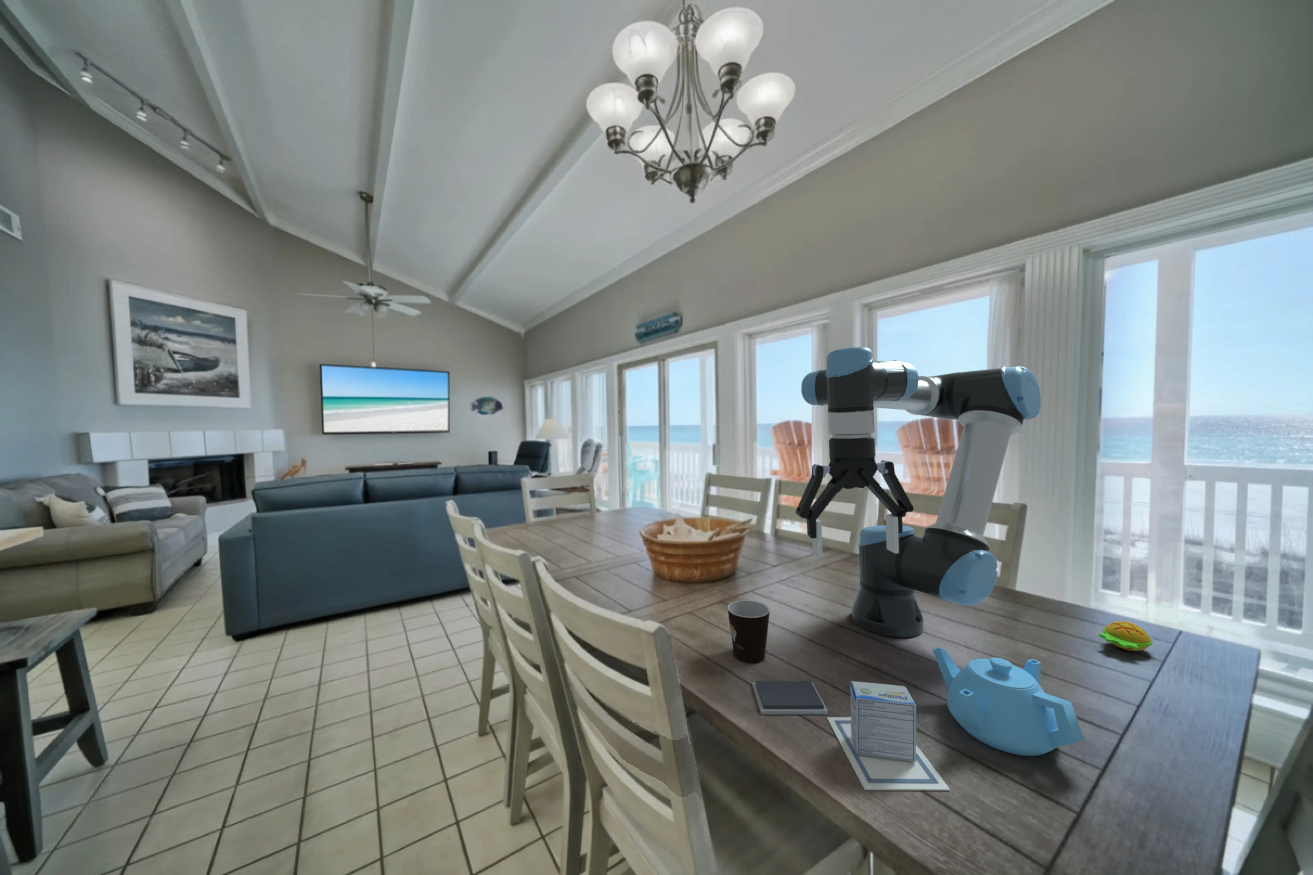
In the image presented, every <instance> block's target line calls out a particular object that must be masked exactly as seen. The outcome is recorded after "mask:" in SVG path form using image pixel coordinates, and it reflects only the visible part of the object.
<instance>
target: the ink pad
mask: <svg viewBox="0 0 1313 875" xmlns="http://www.w3.org/2000/svg"><path fill="white" fill-rule="evenodd" d="M752 688H753V692H754V696H755V698H756V701H757V706H758V708H759V711H760V715H828V714H829V711H828V708H827V706H826V705H825V703H824V701H823V699H822V696H820V694H819V691H818V690H817V688H816V686H815V684H814V682H812V681H811V680H755V682H752Z"/></svg>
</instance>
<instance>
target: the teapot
mask: <svg viewBox="0 0 1313 875" xmlns="http://www.w3.org/2000/svg"><path fill="white" fill-rule="evenodd" d="M932 652H933V654H934V657H935V659H936V662H937V665H938V667H939V670H940V672H941V675H942V678H943V681H944V683H945V686H946V688H947V691H948V693H947V696H946V697H947V700H946V704H947V708H948V709H949V712H950V714H951V715H952V716H953V718H954V720H955V721H956V722H957V723H958V724H959V725H960V726H961V728H962V729H963V730H965V732H967V733H968V734H969V735H971V736H972V737H973V738H975V739H977V740H978V741H980V742H982V743H983V744H985V745H987V746H989V747H991V748H994V749H996V750H998V751H1002V752H1005V753H1007V754H1012V755H1016V756H1017V755H1018V756H1022V757H1023V756H1024V757H1038V756H1042V755H1044V754H1047V753H1049V752H1051V751H1053V750H1055V749H1056V748H1057V747H1062V746H1067V745H1073V744H1074V745H1075V744H1077V743H1079V742H1081V741H1084V740H1085V738H1084V736H1083V732H1082V730H1081V726H1080V723H1079V721H1078V717H1077V715H1076V713H1075V709H1074V706H1073V704H1072V701H1070V700H1066V699H1063V698H1060V697H1057V696H1055V695H1052V694H1048V693H1046V692H1045V690H1043V688H1042V687H1041V684H1040V683H1041V671H1042V670H1041V669H1042V662H1040V661H1038V660H1037V659H1034V658H1032V659H1028V660H1026V662H1025V664H1024V665H1023V668H1021V667H1018V666H1016V665H1013V663H1011V662H1010V661H1009V660H1007V659H1004V658H1000V657H991V658H977V659H973V660H970V661H969V662H968V663H966V664H965V665H964V666H963V667H962V669H960V668H959V667H958V665H957V664H956V663H955V662H954V660H953V659H952V657H951V656H950V655H949V653H947V650H946V649H944V648H940V647H939V646H938V647H937V646H936V647H934V648H932Z"/></svg>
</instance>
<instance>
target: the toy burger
mask: <svg viewBox="0 0 1313 875" xmlns="http://www.w3.org/2000/svg"><path fill="white" fill-rule="evenodd" d="M1098 636H1099V637H1100V638H1102V639H1104V640H1105V642H1107V643H1111V644H1113V645H1114V646H1116V648H1117V647H1118V648H1119V649H1122V650H1125V651H1128V652H1129V651H1130V652H1139V651H1140V652H1141V651H1144V650H1146V649H1148V648H1149V647H1150V646H1152V644H1153V639H1152V638H1151V637H1150V635H1149V633H1147V632H1146V631H1145V629H1144V628H1142V627H1141V626H1139V625H1137V624H1134V623H1133V622H1129V621H1122V620H1121V621H1120V620H1119V621H1113V622H1110V623H1109V624H1107V625H1106V626H1105V627H1104V628H1103V630H1102V633H1099V634H1098Z"/></svg>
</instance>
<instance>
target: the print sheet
mask: <svg viewBox="0 0 1313 875" xmlns="http://www.w3.org/2000/svg"><path fill="white" fill-rule="evenodd" d="M826 718H827V721H828V724H829V725H830V727H831V729H832V730H833V732H834V735H835V736H836V738H837V740H838V742H839V744H840V746H841V748H842V750H843V752H844V754H845V755H846V757H847V759H848V761H849V763H850V765H851V767H852V769H853V771H854V772H855V774H856V776H857V778H858V780H859V783H860V784H861V786H862V788H863V789H864V791H939V792H940V791H942V792H943V791H946V792H947V791H949V792H950V791H951V789H950V787H949V786H948V785H947V783H946V782H945V781H944V779H943V778H942V776H941V775H940V773H938V771H937V770H936V769H935V767H934V766H933V765H932V763H931V762H930V761H929V759H928V758H927V757H926V755H924V753H923V751H922V750H921V749H920V748H919V747H918V745H917V744H916V762H912V761H905V760H897V759H889V758H881V757H873V756H865V755H857V753H856V749H855V746H854V742H853V738H852V734H851V716H848V717H847V716H845V717H844V716H840V717H839V716H837V717H836V716H835V717H834V716H832V717H831V716H828V717H826Z"/></svg>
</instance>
